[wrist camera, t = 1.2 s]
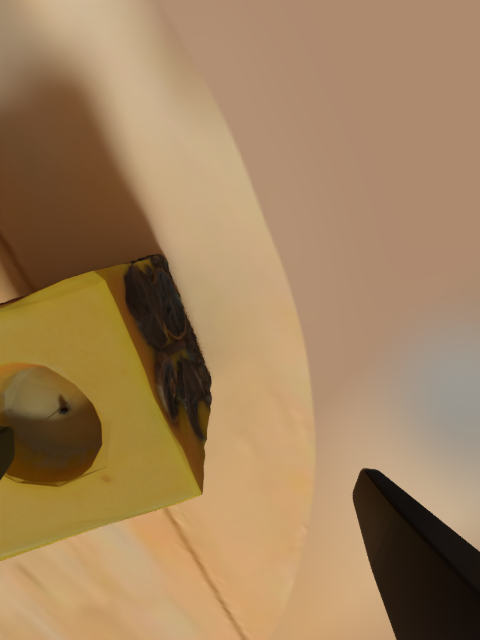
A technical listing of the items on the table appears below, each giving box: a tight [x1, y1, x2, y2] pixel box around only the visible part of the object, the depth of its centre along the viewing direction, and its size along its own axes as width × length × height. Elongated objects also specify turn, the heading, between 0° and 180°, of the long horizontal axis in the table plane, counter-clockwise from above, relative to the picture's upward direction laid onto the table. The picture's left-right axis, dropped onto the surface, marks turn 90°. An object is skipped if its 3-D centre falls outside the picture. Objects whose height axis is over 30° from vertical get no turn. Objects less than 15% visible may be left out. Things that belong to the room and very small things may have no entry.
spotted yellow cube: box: [0, 254, 212, 561], centre depth 15 cm, size 10×10×10 cm
